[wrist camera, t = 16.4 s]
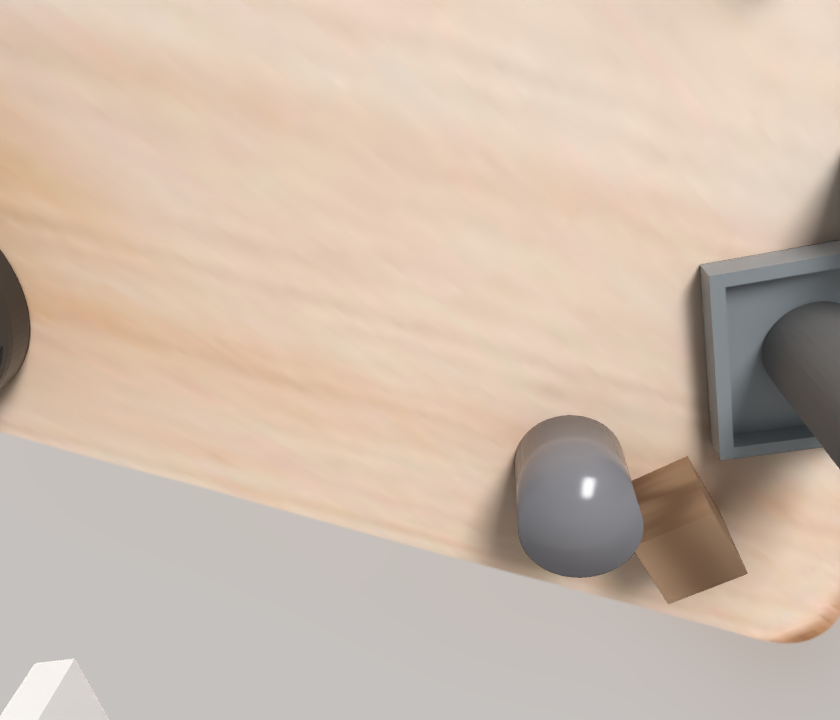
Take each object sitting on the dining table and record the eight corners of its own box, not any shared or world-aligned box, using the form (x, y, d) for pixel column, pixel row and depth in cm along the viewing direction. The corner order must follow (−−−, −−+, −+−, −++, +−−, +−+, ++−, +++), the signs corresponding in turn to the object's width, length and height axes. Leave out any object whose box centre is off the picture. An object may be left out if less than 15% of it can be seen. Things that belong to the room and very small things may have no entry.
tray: (711, 443, 46) (720, 460, 45) (699, 264, 42) (709, 276, 40) (917, 415, 44) (935, 432, 43) (930, 224, 39) (951, 234, 38)
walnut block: (649, 540, 50) (668, 604, 45) (615, 487, 49) (631, 547, 43) (719, 511, 49) (747, 573, 43) (687, 455, 47) (712, 513, 42)
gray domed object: (523, 511, 50) (528, 583, 44) (506, 423, 47) (508, 487, 41) (628, 498, 49) (649, 570, 42) (616, 407, 46) (637, 470, 40)
